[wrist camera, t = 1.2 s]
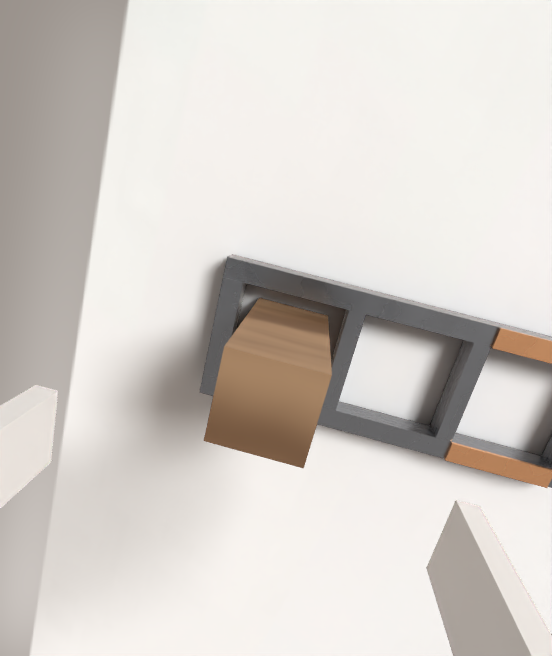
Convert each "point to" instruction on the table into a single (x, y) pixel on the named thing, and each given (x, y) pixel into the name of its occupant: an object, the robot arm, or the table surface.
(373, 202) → the table surface
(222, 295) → the rack
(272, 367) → the walnut block
